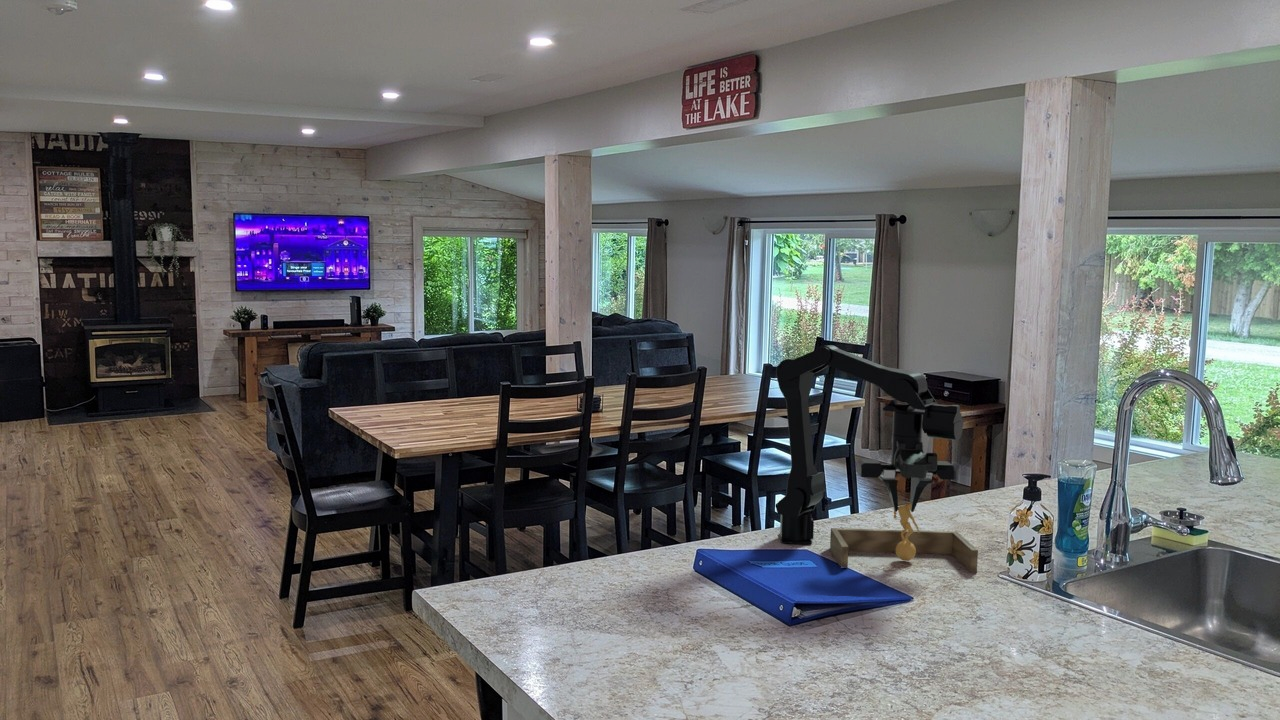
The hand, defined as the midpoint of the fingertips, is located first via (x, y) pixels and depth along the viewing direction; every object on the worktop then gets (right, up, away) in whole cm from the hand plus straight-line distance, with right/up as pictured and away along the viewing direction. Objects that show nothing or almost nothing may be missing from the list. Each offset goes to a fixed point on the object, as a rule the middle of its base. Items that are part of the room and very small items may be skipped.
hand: (903, 511), depth 195 cm
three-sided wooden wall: (0, -10, +1) cm, 10 cm away
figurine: (-1, -10, +1) cm, 10 cm away
